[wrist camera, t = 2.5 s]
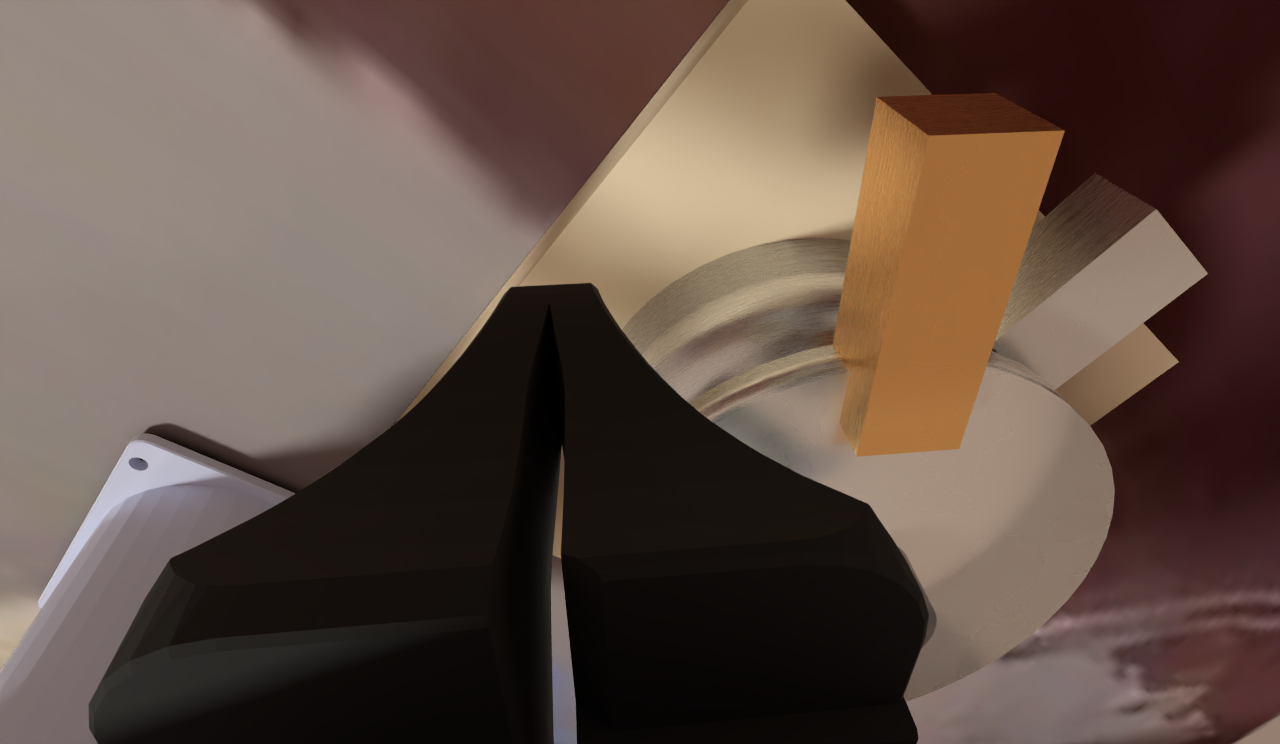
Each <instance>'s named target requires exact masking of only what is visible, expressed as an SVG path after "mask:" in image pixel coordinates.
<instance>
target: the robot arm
mask: <svg viewBox="0 0 1280 744" xmlns="http://www.w3.org/2000/svg"><path fill="white" fill-rule="evenodd" d="M562 449H563V456H564V498H563V519H562V539H561V561H562V571H563V580H564V590H565V600H566V610H567V619H568V629H569V639H570V649H571V658H572V668H573V678H574V688H575V697H576V720H577V744H916V743H917V741H918V733H917V728H916V725H915V723H914V721H913V718H912V716H911V713H910V711H909V708H908V706H907V704H906V701H905V699H904V693H905V691H906V688H907V685H908V683H909V680H910V677H911V675H912V672H913V669H914V667H915V664H916V661H917V659H918V656H919V653H920V651H921V648H922V645H923V643H924V640H925V637H926V631H927V625H928V619H929V613H928V610H927V606H926V603H925V599H924V596H923V593H922V591H921V589H920V587H919V585H918V583H917V581H916V579H915V577H914V575H913V573H912V571H911V569H910V567H909V565H908V563H907V561H906V560H905V558H904V556H903V555H902V553H901V552H900V550H899V548H898V547H897V545H896V544H895V542H894V540H893V539H892V537H891V536H890V534H889V533H888V531H887V530H886V529H885V527H884V526H883V524H882V523H881V521H880V520H879V518H878V517H877V515H876V514H875V512H874V511H873V509H872V508H871V506H870V505H869V504H868V503H865V502H863V501H861V500H858V499H856V498H854V497H851V496H849V495H847V494H844V493H842V492H840V491H837V490H835V489H833V488H830V487H828V486H826V485H823V484H821V483H819V482H816V481H814V480H812V479H809V478H807V477H805V476H803V475H801V474H799V473H797V472H795V471H793V470H791V469H789V468H787V467H785V466H783V465H782V464H780V463H778V462H776V461H774V460H772V459H770V458H769V457H767V456H765V455H763V454H761V453H760V452H758V451H756V450H755V449H753V448H751V447H750V446H748V445H746V444H745V443H743V442H741V441H740V440H738V439H737V438H735V437H734V436H732V435H731V434H729V433H728V432H727V431H725V430H724V429H722V428H721V427H719V426H718V425H716V424H715V423H713V422H712V421H710V420H709V419H708V418H706V417H705V416H704V415H702V414H701V413H700V412H699V411H698V410H696V409H695V408H694V407H693V406H692V405H691V404H689V403H688V402H687V401H686V400H685V399H684V398H682V397H681V396H680V395H679V394H678V393H677V392H676V391H675V390H674V389H673V388H672V387H671V386H670V385H669V384H668V383H667V382H666V381H665V380H664V379H663V378H662V377H661V376H660V375H659V374H658V373H657V372H656V371H655V370H654V369H653V367H652V366H651V365H650V364H649V363H648V362H647V361H646V360H645V358H644V357H643V356H642V355H641V354H640V353H639V351H638V350H637V349H636V348H635V346H634V345H633V344H632V342H631V341H630V340H629V339H628V337H627V336H626V335H625V333H624V332H623V331H622V329H621V328H620V327H619V325H618V324H617V322H616V321H615V319H614V318H613V316H612V315H611V313H610V312H609V310H608V308H607V307H606V305H605V303H604V301H603V299H602V297H601V295H600V293H599V290H598V289H597V288H596V287H595V286H594V285H593V284H592V283H577V284H557V285H538V286H519V287H510V288H509V289H508V291H507V292H506V293H505V294H504V295H503V297H502V298H501V300H500V302H499V303H498V305H497V306H496V308H495V310H494V311H493V313H492V314H491V316H490V317H489V319H488V320H487V321H486V323H485V324H484V326H483V327H482V329H481V330H480V331H479V333H478V334H477V335H476V337H475V338H474V339H473V341H472V342H471V343H470V344H469V346H468V347H467V348H466V350H465V351H464V352H463V354H462V355H461V356H460V357H459V359H458V360H457V361H456V362H455V363H454V365H453V366H452V367H451V368H450V369H449V370H448V371H447V372H446V374H445V375H444V376H443V377H442V378H441V379H440V380H439V381H438V383H437V384H436V385H435V386H434V387H433V388H432V389H431V390H430V391H429V392H428V394H427V395H426V396H425V397H424V398H423V399H422V400H421V401H420V402H419V403H418V404H417V405H416V406H414V407H413V408H412V409H411V410H410V411H409V412H408V413H407V414H406V415H405V416H403V417H402V418H401V419H400V420H399V421H398V422H397V423H395V424H394V425H393V426H392V427H391V428H389V429H388V430H387V431H386V432H385V433H383V434H382V435H380V436H379V437H378V438H376V439H375V440H374V441H372V442H371V443H370V444H368V445H367V446H366V447H364V448H363V449H362V450H360V451H359V452H358V453H356V454H355V455H353V456H352V457H351V458H349V459H348V460H347V461H345V462H344V463H343V464H341V465H340V466H338V467H337V468H336V469H334V470H333V471H331V472H329V473H328V474H326V475H325V476H323V477H322V478H320V479H318V480H317V481H315V482H314V483H312V484H311V485H309V486H308V487H306V488H304V489H303V490H301V491H299V492H297V493H293V492H291V491H288V490H286V489H284V488H281V487H279V486H276V485H274V484H272V483H269V482H267V481H264V480H262V479H260V478H257V477H255V476H252V475H250V474H247V473H245V472H243V471H240V470H238V469H235V468H233V467H231V466H228V465H226V464H223V463H221V462H219V461H216V460H214V459H211V458H209V457H207V456H204V455H202V454H199V453H197V452H194V451H192V450H190V449H187V448H185V447H182V446H180V445H178V444H175V443H173V442H170V441H168V440H166V439H163V438H161V437H158V436H156V435H152V434H139V435H136V436H135V437H134V438H132V440H131V441H130V443H129V444H128V445H127V447H126V449H125V451H124V452H123V454H122V456H121V457H120V459H119V461H118V463H117V464H116V466H115V468H114V470H113V471H112V473H111V475H110V477H109V478H108V480H107V482H106V484H105V485H104V487H103V489H102V491H101V492H100V494H99V496H98V498H97V499H96V501H95V503H94V505H93V506H92V508H91V510H90V512H89V513H88V515H87V517H86V519H85V520H84V522H83V524H82V526H81V527H80V529H79V531H78V533H77V534H76V536H75V538H74V540H73V541H72V543H71V545H70V547H69V548H68V550H67V552H66V554H65V555H64V557H63V559H62V561H61V562H60V564H59V566H58V567H57V569H56V571H55V573H54V574H53V576H52V578H51V580H50V581H49V583H48V585H47V587H46V588H45V590H44V592H43V594H42V595H41V597H40V599H39V601H38V605H39V607H40V608H41V610H40V612H39V613H38V615H37V616H36V618H35V619H34V621H33V622H32V624H31V625H30V627H29V628H28V630H27V631H26V633H25V634H24V636H23V637H22V638H21V640H20V641H19V643H18V644H17V646H16V647H15V649H14V650H13V652H12V653H11V655H10V656H9V658H8V659H7V661H6V662H5V664H4V665H3V667H2V668H1V670H0V744H554V739H553V695H552V643H551V569H552V554H553V543H554V532H555V520H556V509H557V498H558V486H559V475H560V463H561V451H562ZM138 458H141V459H143V460H145V461H146V462H145V461H141V460H139V459H138Z"/></svg>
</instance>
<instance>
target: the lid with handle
mask: <svg viewBox="0 0 1280 744" xmlns="http://www.w3.org/2000/svg"><path fill="white" fill-rule="evenodd" d="M1064 132H1065V130H1063V129H1061V128H1059V127H1057V126H1056V125H1054V124H1052V123H1050V122H1048V121H1046V120H1044V119H1043V118H1041V117H1039V116H1037V115H1035V114H1033V113H1031V112H1030V111H1028V110H1026V109H1024V108H1022V107H1020V106H1018V105H1017V104H1015V103H1013V102H1011V101H1009V100H1007V99H1005V98H1003V97H1002V96H1000V95H998V94H996V93H976V94H947V95H917V96H888V97H877V98H876V103H875V109H874V114H873V120H872V126H871V131H870V137H869V143H868V148H867V154H866V159H865V165H864V171H863V176H862V182H861V188H860V193H859V199H858V204H857V210H856V216H855V221H854V227H853V233H852V238H851V244H850V249H849V255H848V261H847V266H846V272H845V278H844V283H843V289H842V294H841V300H840V306H839V311H838V317H837V323H836V328H835V334H834V339H833V344H832V345H827V346H823V347H819V348H814V349H810V350H805V351H801V352H798V353H795V354H792V355H789V356H786V357H783V358H780V359H777V360H774V361H771V362H768V363H765V364H762V365H760V366H758V367H755V368H753V369H751V370H749V371H747V372H744V373H742V374H740V375H738V376H736V377H733V378H731V379H729V380H727V381H725V382H723V383H721V384H719V385H718V386H716V387H714V388H713V389H711V390H709V391H707V392H706V393H704V394H702V395H701V396H699V397H697V398H696V399H694V400H692V401H690V402H689V404H691V405H692V406H693V407H694V408H695V409H696V410H698V411H699V412H700V413H701V414H702V415H704V416H705V417H706V418H708V419H709V420H710V421H712V422H713V423H715V424H716V425H718V426H719V427H721V428H722V429H724V430H725V431H727V432H728V433H729V434H731V435H732V436H734V437H735V438H737V439H738V440H740V441H741V442H743V443H745V444H746V445H748V446H750V447H751V448H753V449H755V450H756V451H758V452H760V453H761V454H763V455H765V456H767V457H769V458H770V459H772V460H774V461H776V462H778V463H780V464H782V465H783V466H785V467H787V468H789V469H791V470H793V471H795V472H797V473H799V474H801V475H803V476H805V477H807V478H809V479H812V480H814V481H816V482H819V483H821V484H823V485H826V486H828V487H830V488H833V489H835V490H837V491H840V492H842V493H844V494H847V495H849V496H851V497H854V498H856V499H858V500H861V501H863V502H865V503H868V504H869V505H870V506H871V508H872V509H873V511H874V512H875V514H876V515H877V517H878V518H879V520H880V521H881V523H882V524H883V526H884V527H885V529H886V530H887V531H888V533H889V534H890V536H891V537H892V539H893V540H894V542H895V544H896V545H897V547H898V548H899V550H900V552H901V553H902V555H903V556H904V558H905V560H906V561H907V563H908V565H909V567H910V569H911V571H912V573H913V575H914V577H915V579H916V581H917V583H918V585H919V587H920V589H921V591H922V593H923V596H924V599H925V603H926V606H927V610H928V613H929V619H928V625H927V631H926V637H925V640H924V643H923V645H922V648H921V651H920V653H919V656H918V659H917V661H916V664H915V667H914V669H913V672H912V675H911V677H910V680H909V683H908V685H907V688H906V691H905V693H904V699H905V701H908V700H911V699H914V698H917V697H920V696H923V695H925V694H928V693H930V692H932V691H935V690H937V689H940V688H942V687H944V686H947V685H949V684H951V683H953V682H955V681H957V680H959V679H961V678H963V677H965V676H967V675H969V674H971V673H973V672H975V671H977V670H979V669H981V668H982V667H984V666H986V665H987V664H989V663H991V662H992V661H994V660H996V659H997V658H999V657H1001V656H1002V655H1004V654H1005V653H1007V652H1008V651H1009V650H1011V649H1012V648H1014V647H1015V646H1016V645H1018V644H1019V643H1021V642H1022V641H1024V640H1025V639H1026V638H1027V637H1029V636H1030V635H1031V634H1032V633H1033V632H1035V631H1036V630H1037V629H1038V628H1039V627H1041V626H1042V625H1043V624H1044V623H1045V622H1047V621H1048V620H1049V619H1050V618H1051V617H1052V616H1053V615H1054V614H1055V613H1056V612H1057V611H1058V610H1059V609H1060V608H1061V607H1062V606H1063V605H1064V604H1065V603H1066V601H1067V600H1068V599H1069V598H1070V596H1071V595H1072V594H1073V593H1074V592H1075V590H1076V589H1077V588H1078V587H1079V585H1080V584H1081V583H1082V582H1083V580H1084V579H1085V577H1086V575H1087V574H1088V572H1089V571H1090V569H1091V567H1092V566H1093V564H1094V563H1095V561H1096V559H1097V557H1098V555H1099V553H1100V551H1101V548H1102V546H1103V544H1104V542H1105V540H1106V537H1107V534H1108V530H1109V526H1110V523H1111V519H1112V515H1113V506H1114V493H1115V489H1114V482H1113V474H1112V467H1111V465H1110V462H1109V459H1108V457H1107V454H1106V451H1105V449H1104V446H1103V444H1102V443H1101V441H1100V440H1099V439H1098V437H1097V436H1096V434H1095V433H1094V431H1093V430H1092V428H1091V427H1090V425H1089V424H1088V423H1087V422H1086V421H1085V420H1084V419H1083V418H1082V417H1081V416H1080V415H1079V413H1078V412H1077V411H1076V410H1075V409H1074V408H1073V407H1072V406H1071V405H1070V404H1069V403H1068V402H1067V401H1066V400H1065V399H1064V398H1063V396H1061V395H1060V394H1059V393H1058V392H1057V391H1056V390H1055V389H1054V388H1053V387H1052V386H1051V385H1050V384H1049V383H1048V382H1047V381H1046V380H1045V379H1044V378H1042V377H1041V376H1039V375H1038V374H1036V373H1035V372H1033V371H1032V370H1030V369H1028V368H1027V367H1025V366H1024V365H1022V364H1021V363H1019V362H1017V361H1014V360H1012V359H1010V358H1007V357H1005V356H1003V355H1000V354H998V353H996V352H993V351H992V348H993V345H994V342H995V339H996V336H997V333H998V330H999V327H1000V324H1001V321H1002V318H1003V315H1004V312H1005V309H1006V306H1007V303H1008V300H1009V297H1010V294H1011V291H1012V288H1013V285H1014V282H1015V279H1016V276H1017V273H1018V270H1019V267H1020V264H1021V261H1022V258H1023V255H1024V252H1025V249H1026V246H1027V243H1028V240H1029V237H1030V234H1031V231H1032V228H1033V225H1034V222H1035V219H1036V216H1037V213H1038V210H1039V207H1040V204H1041V201H1042V198H1043V195H1044V192H1045V189H1046V186H1047V183H1048V180H1049V177H1050V174H1051V171H1052V168H1053V165H1054V162H1055V159H1056V156H1057V153H1058V150H1059V147H1060V144H1061V141H1062V138H1063V135H1064Z"/></svg>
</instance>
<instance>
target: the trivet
mask: <svg viewBox="0 0 1280 744" xmlns="http://www.w3.org/2000/svg"><path fill="white" fill-rule="evenodd" d="M917 95H932V94H931V93H930V92H929V90H928V89H927V88H926V87H925V86H924V85H923V84H922V83H921V82H920V81H919V80H918V79H917V77H916V76H915V75H914V74H913V73H912V72H911V71H910V70H909V69H908V68H907V67H906V66H905V64H904V63H903V62H902V61H901V60H900V59H899V58H898V57H897V56H896V55H895V54H894V53H893V51H892V50H891V49H890V48H889V47H888V46H887V45H886V44H885V43H884V42H883V41H882V40H881V38H880V37H879V36H878V35H877V34H876V33H875V32H874V31H873V30H872V29H871V28H870V27H869V25H868V24H867V23H866V22H865V21H864V20H863V19H862V18H861V17H860V16H859V15H858V14H857V12H856V11H855V10H854V9H853V8H852V7H851V6H850V5H849V4H848V3H847V2H846V1H845V0H730V1H729V2H728V3H727V4H726V6H725V7H724V8H723V9H722V11H721V12H720V13H719V14H718V16H717V17H716V18H715V20H714V21H713V22H712V23H711V25H710V26H709V27H708V28H707V30H706V31H705V32H704V33H703V35H702V36H701V37H700V39H699V40H698V41H697V42H696V44H695V45H694V46H693V47H692V49H691V50H690V51H689V52H688V54H687V55H686V56H685V57H684V59H683V60H682V61H681V63H680V64H679V65H678V66H677V68H676V69H675V70H674V71H673V73H672V74H671V75H670V76H669V78H668V79H667V80H666V82H665V83H664V84H663V85H662V87H661V88H660V89H659V90H658V92H657V93H656V94H655V95H654V97H653V98H652V99H651V100H650V102H649V103H648V104H647V106H646V107H645V108H644V109H643V111H642V112H641V113H640V114H639V116H638V117H637V118H636V119H635V121H634V122H633V123H632V125H631V126H630V127H629V128H628V130H627V131H626V132H625V133H624V135H623V136H622V137H621V138H620V140H619V141H618V142H617V143H616V145H615V146H614V147H613V149H612V150H611V151H610V152H609V154H608V155H607V156H606V157H605V159H604V160H603V161H602V162H601V164H600V165H599V166H598V168H597V169H596V170H595V171H594V173H593V174H592V175H591V176H590V178H589V179H588V180H587V181H586V183H585V184H584V185H583V187H582V188H581V189H580V190H579V192H578V193H577V194H576V195H575V197H574V198H573V199H572V200H571V202H570V203H569V204H568V205H567V207H566V208H565V209H564V211H563V212H562V213H561V214H560V216H559V217H558V218H557V219H556V221H555V222H554V223H553V224H552V226H551V227H550V228H549V230H548V231H547V232H546V233H545V235H544V236H543V237H542V238H541V240H540V241H539V242H538V243H537V245H536V246H535V247H534V248H533V250H532V251H531V252H530V254H529V255H528V256H527V257H526V259H525V260H524V261H523V262H522V264H521V265H520V266H519V267H518V269H517V270H516V271H515V273H514V274H513V275H512V276H511V278H510V279H509V280H508V281H507V283H506V284H505V285H504V286H503V288H502V289H501V290H500V291H499V293H498V294H497V295H496V297H495V298H494V299H493V300H492V302H491V303H490V304H489V305H488V307H487V308H486V309H485V310H484V312H483V313H482V314H481V316H480V317H479V318H478V319H477V321H476V322H475V323H474V324H473V326H472V327H471V328H470V329H469V331H468V332H467V333H466V335H465V336H464V337H463V338H462V340H461V341H460V342H459V343H458V345H457V346H456V347H455V348H454V350H453V351H452V352H451V353H450V355H449V356H448V357H447V359H446V360H445V361H444V362H443V364H442V365H441V366H440V367H439V369H438V370H437V371H436V372H435V374H434V375H433V376H432V378H431V379H430V380H429V381H428V383H427V384H426V385H425V386H424V388H423V389H422V390H421V391H420V393H419V394H418V395H417V396H416V398H415V399H414V400H413V402H412V403H411V404H410V405H409V407H408V408H407V409H406V410H405V412H404V413H403V414H402V415H401V417H400V418H399V419H398V421H399V420H400V419H401V418H402V417H403V416H405V415H406V414H407V413H408V412H409V411H410V410H411V409H412V408H413V407H414V406H416V405H417V404H418V403H419V402H420V401H421V400H422V399H423V398H424V397H425V396H426V395H427V394H428V392H429V391H430V390H431V389H432V388H433V387H434V386H435V385H436V384H437V383H438V381H439V380H440V379H441V378H442V377H443V376H444V375H445V374H446V372H447V371H448V370H449V369H450V368H451V367H452V366H453V365H454V363H455V362H456V361H457V360H458V359H459V357H460V356H461V355H462V354H463V352H464V351H465V350H466V348H467V347H468V346H469V344H470V343H471V342H472V341H473V339H474V338H475V337H476V335H477V334H478V333H479V331H480V330H481V329H482V327H483V326H484V324H485V323H486V321H487V320H488V319H489V317H490V316H491V314H492V313H493V311H494V310H495V308H496V306H497V305H498V303H499V302H500V300H501V298H502V297H503V295H504V294H505V293H506V292H507V291H508V289H509V288H510V287H519V286H538V285H557V284H577V283H592V284H593V285H594V286H595V287H596V288H597V289H598V290H599V293H600V295H601V297H602V299H603V301H604V303H605V305H606V307H607V308H608V310H609V312H610V313H611V315H612V316H613V318H614V319H615V321H616V322H617V324H618V325H619V327H620V328H621V329H623V328H624V326H625V325H626V324H627V323H628V321H629V320H630V319H631V318H632V317H633V316H634V315H635V314H636V313H637V312H638V311H639V310H640V309H641V308H642V307H643V306H644V305H645V304H646V303H647V302H648V301H649V300H650V299H652V298H653V297H654V296H656V295H657V294H658V293H660V292H661V291H662V290H663V289H665V288H666V287H667V286H669V285H670V284H671V283H673V282H674V281H676V280H678V279H679V278H681V277H683V276H684V275H686V274H688V273H689V272H691V271H693V270H695V269H696V268H698V267H700V266H702V265H704V264H707V263H709V262H711V261H713V260H716V259H718V258H720V257H722V256H725V255H727V254H730V253H733V252H737V251H740V250H743V249H746V248H749V247H752V246H756V245H761V244H766V243H771V242H777V241H782V240H791V239H805V238H827V239H844V240H849V241H851V238H852V233H853V227H854V221H855V216H856V210H857V204H858V199H859V193H860V188H861V182H862V176H863V171H864V165H865V159H866V154H867V148H868V143H869V137H870V131H871V126H872V120H873V114H874V109H875V103H876V98H877V97H888V96H917ZM1044 217H1045V216H1044V215H1043V214H1042V213H1041V212H1040V211H1039V210H1038V213H1037V216H1036V219H1035V222H1034V225H1033V227H1034V226H1035V225H1036V224H1037V223H1039V222H1040V221H1041V220H1042V219H1043V218H1044ZM1178 362H1179V361H1178V360H1177V359H1176V358H1175V357H1174V356H1173V355H1172V354H1171V353H1170V352H1169V351H1168V349H1167V348H1166V347H1165V346H1164V345H1163V344H1162V343H1161V342H1160V341H1159V340H1158V339H1157V338H1156V336H1155V335H1154V334H1153V333H1152V332H1151V331H1150V330H1149V329H1148V328H1147V327H1146V326H1145V325H1144V323H1142V324H1141V325H1140V326H1138V327H1137V328H1136V329H1134V330H1133V331H1132V332H1131V333H1129V334H1128V335H1127V336H1125V337H1124V338H1123V339H1121V340H1120V341H1119V342H1117V343H1116V344H1115V345H1113V346H1112V347H1111V348H1109V349H1108V350H1107V351H1106V352H1104V353H1103V354H1102V355H1100V356H1099V357H1098V358H1096V359H1095V360H1094V361H1092V362H1091V363H1090V364H1088V365H1087V366H1086V367H1084V368H1083V369H1082V370H1081V371H1079V372H1078V373H1077V374H1075V375H1074V376H1073V377H1071V378H1070V379H1069V380H1067V381H1066V382H1065V383H1063V384H1062V385H1061V386H1059V387H1058V388H1057V389H1056V391H1057V392H1058V393H1059V394H1060V395H1061V396H1063V398H1064V399H1065V400H1066V401H1067V402H1068V403H1069V404H1070V405H1071V406H1072V407H1073V408H1074V409H1075V410H1076V411H1077V412H1078V413H1079V415H1080V416H1081V417H1082V418H1083V419H1084V420H1085V421H1086V422H1087V423H1088V424H1089V425H1090V426H1091V425H1092V424H1093V423H1095V422H1096V421H1098V420H1099V419H1100V418H1102V417H1103V416H1104V415H1106V414H1107V413H1109V412H1110V411H1111V410H1113V409H1114V408H1116V407H1117V406H1118V405H1120V404H1121V403H1123V402H1124V401H1125V400H1127V399H1128V398H1129V397H1131V396H1132V395H1134V394H1135V393H1136V392H1138V391H1139V390H1141V389H1142V388H1143V387H1145V386H1146V385H1147V384H1149V383H1150V382H1152V381H1153V380H1154V379H1156V378H1157V377H1159V376H1160V375H1161V374H1163V373H1164V372H1165V371H1167V370H1168V369H1170V368H1171V367H1172V366H1174V365H1175V364H1177V363H1178ZM398 421H397V422H398ZM397 422H396V423H397ZM563 498H564V456H563V449H562V451H561V463H560V475H559V486H558V498H557V509H556V520H555V532H554V543H553V554H552V555H554V556H556V557H558V558H561V539H562V519H563Z"/></svg>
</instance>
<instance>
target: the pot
mask: <svg viewBox="0 0 1280 744" xmlns="http://www.w3.org/2000/svg"><path fill="white" fill-rule="evenodd" d="M850 244H851V241H849V240H844V239H827V238H805V239H791V240H782V241H777V242H771V243H766V244H761V245H756V246H752V247H749V248H746V249H743V250H740V251H737V252H733V253H730V254H727V255H725V256H722V257H720V258H718V259H716V260H713V261H711V262H709V263H707V264H704V265H702V266H700V267H698V268H696V269H695V270H693V271H691V272H689V273H688V274H686V275H684V276H683V277H681V278H679V279H678V280H676V281H674V282H673V283H671V284H670V285H669V286H667V287H666V288H665V289H663V290H662V291H661V292H660V293H658V294H657V295H656V296H654V297H653V298H652V299H650V300H649V301H648V302H647V303H646V304H645V305H644V306H643V307H642V308H641V309H640V310H639V311H638V312H637V313H636V314H635V315H634V316H633V317H632V318H631V319H630V320H629V321H628V323H627V324H626V325H625V326H624V328H623V329H622V331H623V332H624V333H625V335H626V336H627V337H628V339H629V340H630V341H631V342H632V344H633V345H634V346H635V348H636V349H637V350H638V351H639V353H640V354H641V355H642V356H643V357H644V358H645V360H646V361H647V362H648V363H649V364H650V365H651V366H652V367H653V369H654V370H655V371H656V372H657V373H658V374H659V375H660V376H661V377H662V378H663V379H664V380H665V381H666V382H667V383H668V384H669V385H670V386H671V387H672V388H673V389H674V390H675V391H676V392H677V393H678V394H679V395H680V396H681V397H682V398H684V399H685V400H686V401H687V402H688V403H689V402H690V401H692V400H694V399H696V398H697V397H699V396H701V395H702V394H704V393H706V392H707V391H709V390H711V389H713V388H714V387H716V386H718V385H719V384H721V383H723V382H725V381H727V380H729V379H731V378H733V377H736V376H738V375H740V374H742V373H744V372H747V371H749V370H751V369H753V368H755V367H758V366H760V365H762V364H765V363H768V362H771V361H774V360H777V359H780V358H783V357H786V356H789V355H792V354H795V353H798V352H801V351H805V350H810V349H814V348H819V347H823V346H827V345H832V344H833V339H834V334H835V328H836V323H837V317H838V311H839V306H840V300H841V294H842V289H843V283H844V278H845V272H846V266H847V261H848V255H849V249H850ZM1207 274H1208V273H1207V272H1206V271H1205V269H1204V268H1203V267H1202V266H1201V264H1200V263H1199V262H1198V261H1197V259H1196V258H1195V257H1194V256H1193V254H1192V253H1191V252H1190V251H1189V249H1188V248H1187V247H1186V246H1185V244H1184V243H1183V242H1182V241H1181V239H1180V238H1179V237H1178V236H1177V234H1176V233H1175V232H1174V231H1173V229H1172V228H1171V227H1170V226H1169V224H1168V223H1167V222H1166V221H1165V219H1164V218H1163V217H1162V216H1161V214H1160V213H1159V212H1158V210H1157V209H1155V208H1154V207H1152V206H1150V205H1149V204H1147V203H1145V202H1143V201H1142V200H1140V199H1138V198H1137V197H1135V196H1133V195H1132V194H1130V193H1128V192H1126V191H1125V190H1123V189H1121V188H1120V187H1118V186H1116V185H1114V184H1113V183H1111V182H1109V181H1108V180H1106V179H1104V178H1103V177H1101V176H1099V175H1097V174H1096V173H1095V174H1093V175H1092V176H1091V177H1090V178H1089V179H1088V180H1087V181H1085V182H1084V183H1083V184H1082V185H1081V186H1080V187H1079V188H1077V189H1076V190H1075V191H1074V192H1073V193H1072V194H1071V195H1069V196H1068V197H1067V198H1066V199H1065V200H1064V201H1063V202H1061V203H1060V204H1059V205H1058V206H1057V207H1056V208H1055V209H1053V210H1052V211H1051V212H1050V213H1049V214H1048V215H1047V216H1045V217H1044V218H1043V219H1042V220H1041V221H1040V222H1039V223H1037V224H1036V225H1035V226H1034V227H1033V228H1032V231H1031V234H1030V237H1029V240H1028V243H1027V246H1026V249H1025V252H1024V255H1023V258H1022V261H1021V264H1020V267H1019V270H1018V273H1017V276H1016V279H1015V282H1014V285H1013V288H1012V291H1011V294H1010V297H1009V300H1008V303H1007V306H1006V309H1005V312H1004V315H1003V318H1002V321H1001V324H1000V327H999V330H998V333H997V336H996V339H995V342H994V345H993V348H992V351H993V352H996V353H998V354H1000V355H1003V356H1005V357H1007V358H1010V359H1012V360H1014V361H1017V362H1019V363H1021V364H1022V365H1024V366H1025V367H1027V368H1028V369H1030V370H1032V371H1033V372H1035V373H1036V374H1038V375H1039V376H1041V377H1042V378H1044V379H1045V380H1046V381H1047V382H1048V383H1049V384H1050V385H1051V386H1052V387H1053V388H1054V389H1055V390H1056V389H1057V388H1058V387H1059V386H1061V385H1062V384H1063V383H1065V382H1066V381H1067V380H1069V379H1070V378H1071V377H1073V376H1074V375H1075V374H1077V373H1078V372H1079V371H1081V370H1082V369H1083V368H1084V367H1086V366H1087V365H1088V364H1090V363H1091V362H1092V361H1094V360H1095V359H1096V358H1098V357H1099V356H1100V355H1102V354H1103V353H1104V352H1106V351H1107V350H1108V349H1109V348H1111V347H1112V346H1113V345H1115V344H1116V343H1117V342H1119V341H1120V340H1121V339H1123V338H1124V337H1125V336H1127V335H1128V334H1129V333H1131V332H1132V331H1133V330H1134V329H1136V328H1137V327H1138V326H1140V325H1141V324H1142V323H1144V322H1145V321H1146V320H1148V319H1149V318H1150V317H1152V316H1153V315H1154V314H1156V313H1157V312H1158V311H1160V310H1161V309H1162V308H1163V307H1165V306H1166V305H1167V304H1169V303H1170V302H1171V301H1173V300H1174V299H1175V298H1177V297H1178V296H1179V295H1181V294H1182V293H1183V292H1185V291H1186V290H1187V289H1188V288H1190V287H1191V286H1192V285H1194V284H1195V283H1196V282H1198V281H1199V280H1200V279H1202V278H1203V277H1204V276H1206V275H1207Z"/></svg>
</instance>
